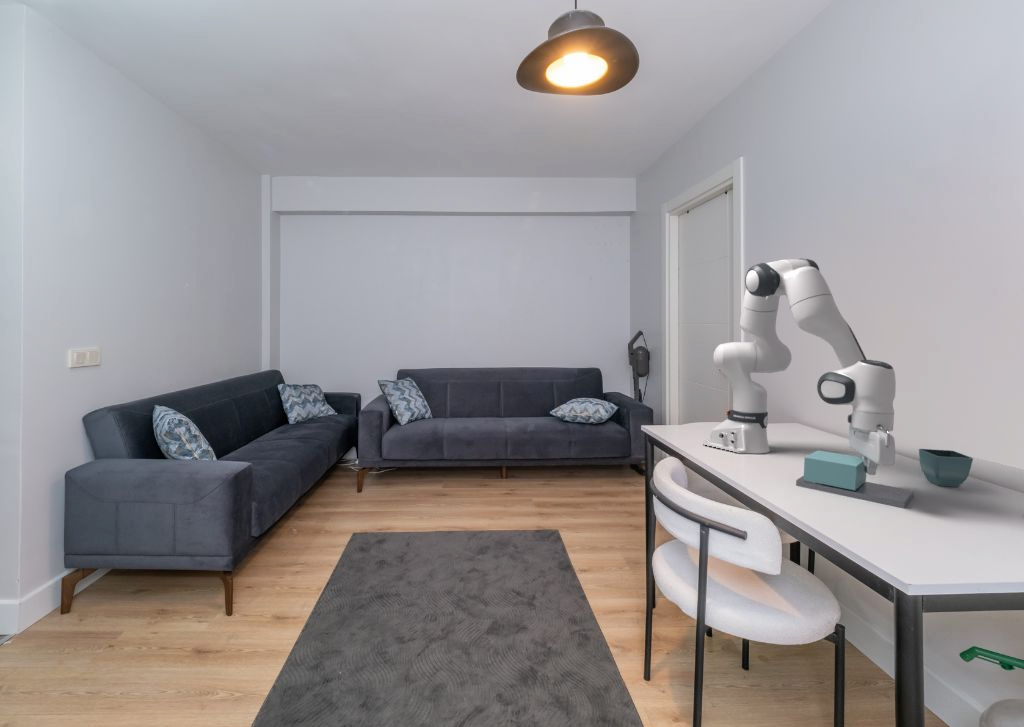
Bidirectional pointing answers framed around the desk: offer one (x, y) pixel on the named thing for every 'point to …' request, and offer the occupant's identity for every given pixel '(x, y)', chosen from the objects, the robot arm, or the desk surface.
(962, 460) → the flower pot
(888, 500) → the housing base
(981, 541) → the desk surface
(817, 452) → the cover
